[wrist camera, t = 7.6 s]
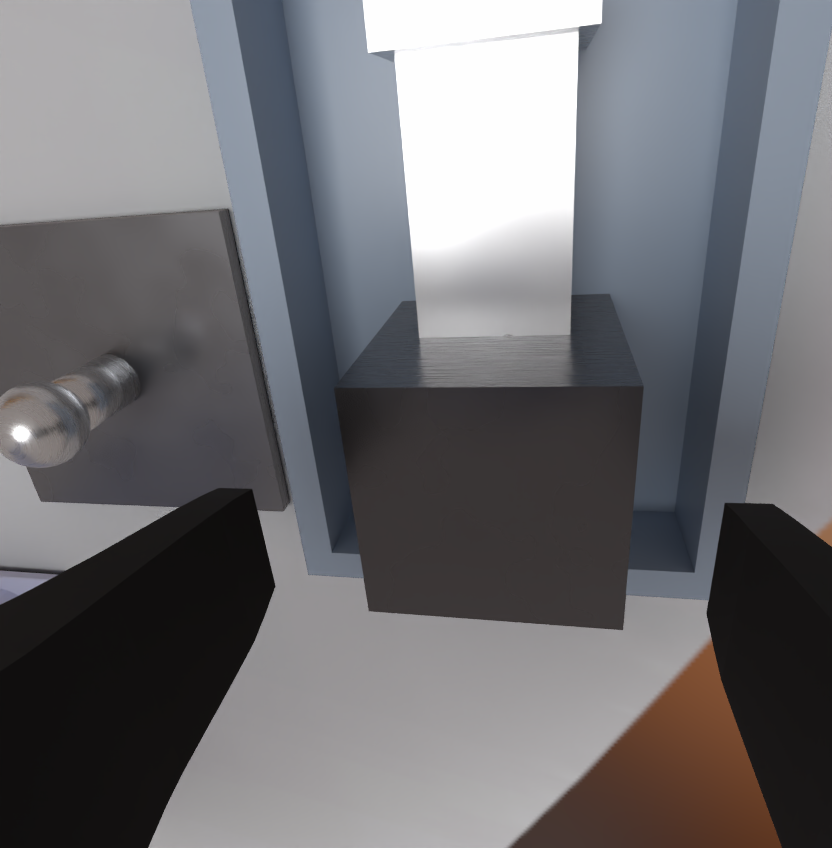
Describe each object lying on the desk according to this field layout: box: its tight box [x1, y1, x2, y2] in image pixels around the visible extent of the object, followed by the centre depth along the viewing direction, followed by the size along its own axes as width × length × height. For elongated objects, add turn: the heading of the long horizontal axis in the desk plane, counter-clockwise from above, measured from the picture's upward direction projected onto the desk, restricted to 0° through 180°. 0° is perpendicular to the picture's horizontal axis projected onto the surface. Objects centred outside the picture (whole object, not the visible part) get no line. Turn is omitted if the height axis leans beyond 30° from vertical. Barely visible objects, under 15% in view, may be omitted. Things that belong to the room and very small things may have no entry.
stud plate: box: [0, 209, 290, 511], centre depth 16 cm, size 9×9×5 cm
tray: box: [190, 0, 832, 600], centre depth 13 cm, size 16×11×3 cm
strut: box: [334, 0, 644, 630], centre depth 12 cm, size 11×5×6 cm, turn 5°
